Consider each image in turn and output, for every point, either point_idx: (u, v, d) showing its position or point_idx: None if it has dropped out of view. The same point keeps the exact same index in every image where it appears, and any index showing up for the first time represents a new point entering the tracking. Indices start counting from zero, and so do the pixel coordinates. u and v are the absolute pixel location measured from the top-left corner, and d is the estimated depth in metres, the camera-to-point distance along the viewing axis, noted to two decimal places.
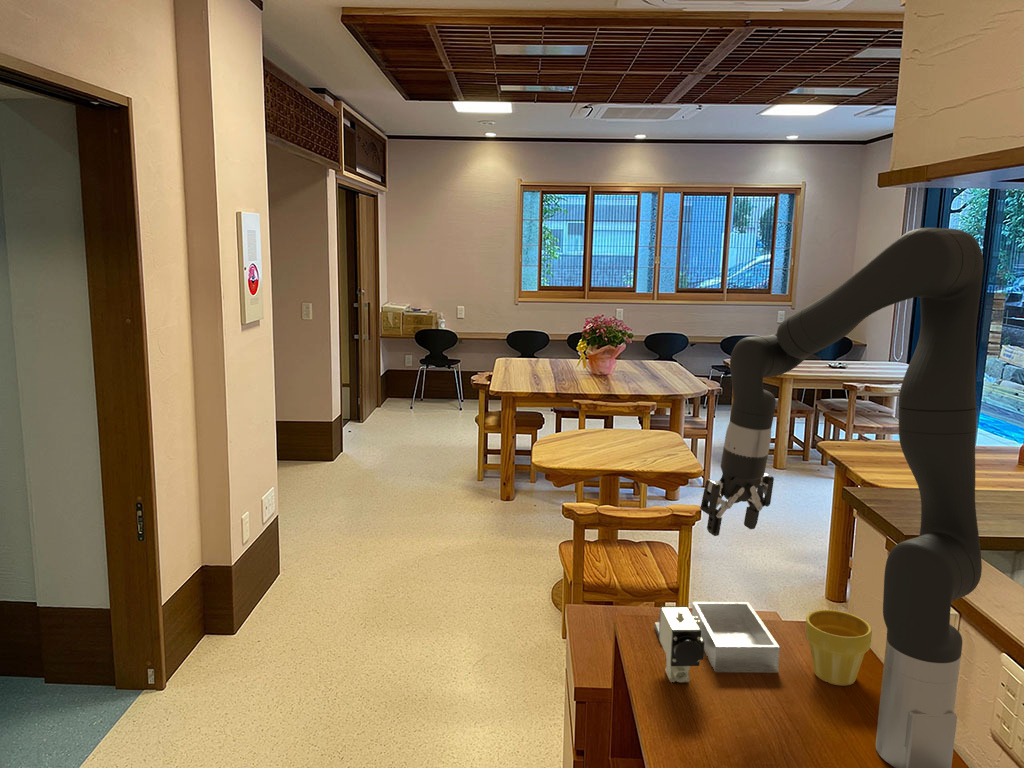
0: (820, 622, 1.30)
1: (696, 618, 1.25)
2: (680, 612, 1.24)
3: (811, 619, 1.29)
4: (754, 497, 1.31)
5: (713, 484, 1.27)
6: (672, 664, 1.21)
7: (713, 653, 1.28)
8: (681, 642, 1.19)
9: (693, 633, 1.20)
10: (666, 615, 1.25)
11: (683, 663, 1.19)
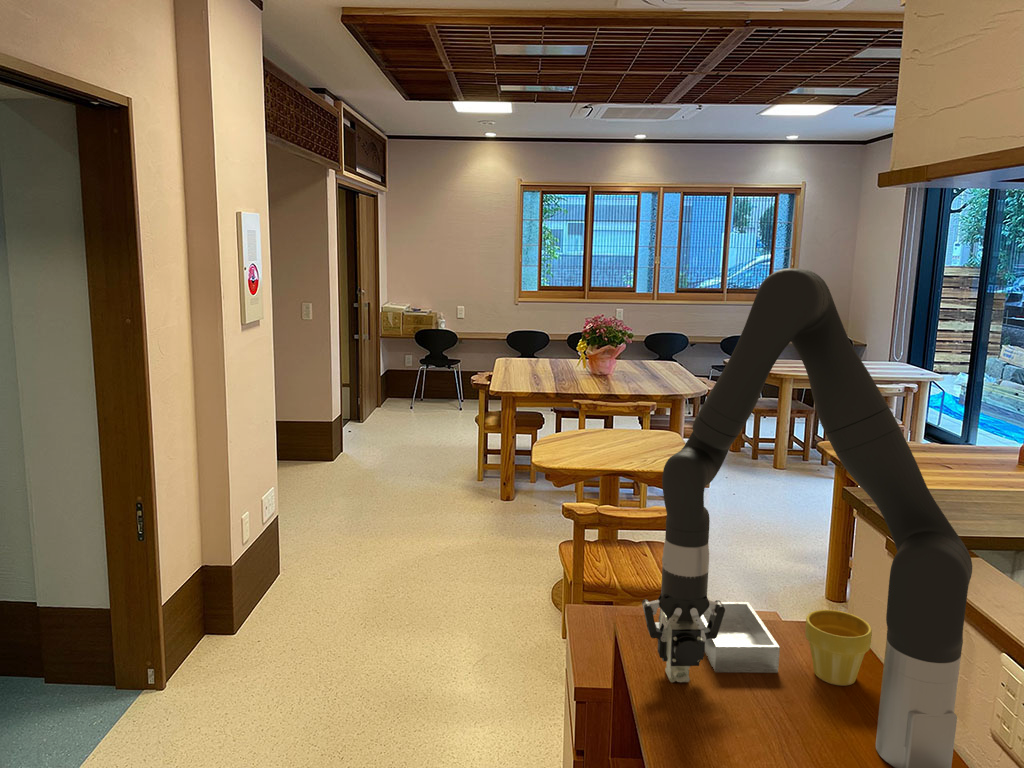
0: (820, 622, 1.30)
1: None
2: None
3: (811, 619, 1.29)
4: (695, 622, 1.22)
5: (645, 606, 1.23)
6: (672, 664, 1.21)
7: (713, 653, 1.28)
8: (681, 642, 1.19)
9: (693, 633, 1.20)
10: None
11: (683, 663, 1.19)
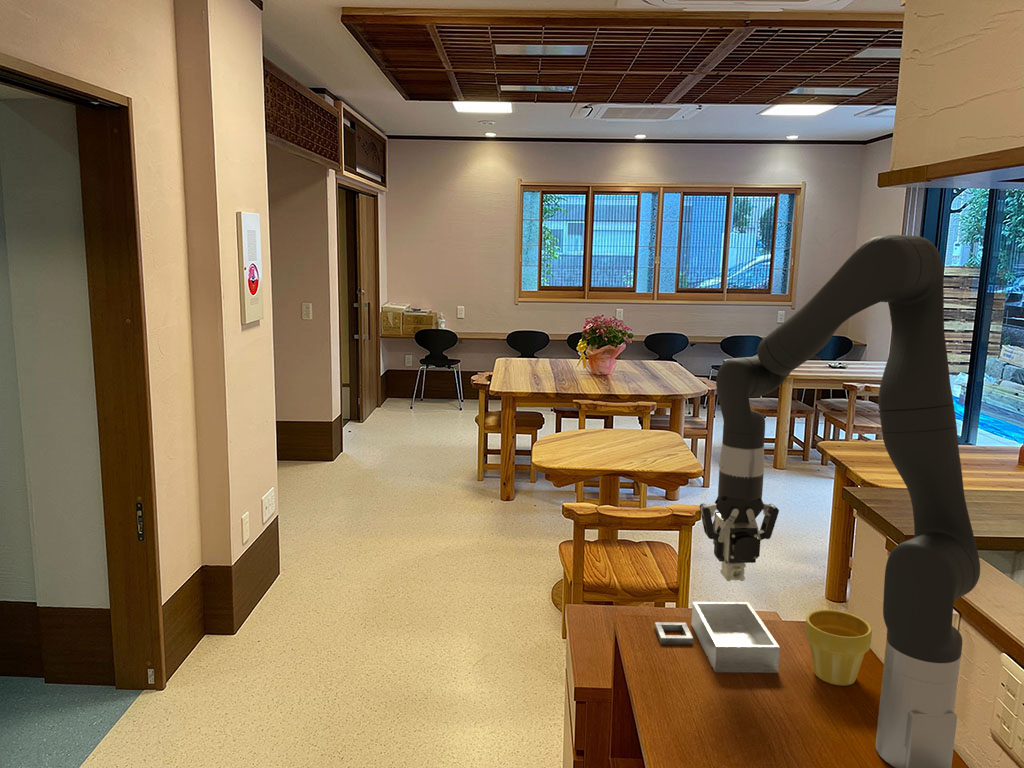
0: (820, 622, 1.30)
1: None
2: None
3: (811, 619, 1.28)
4: (751, 523, 1.30)
5: (703, 508, 1.30)
6: (730, 561, 1.28)
7: (713, 653, 1.28)
8: (739, 538, 1.26)
9: (750, 531, 1.27)
10: (722, 518, 1.32)
11: (741, 559, 1.26)
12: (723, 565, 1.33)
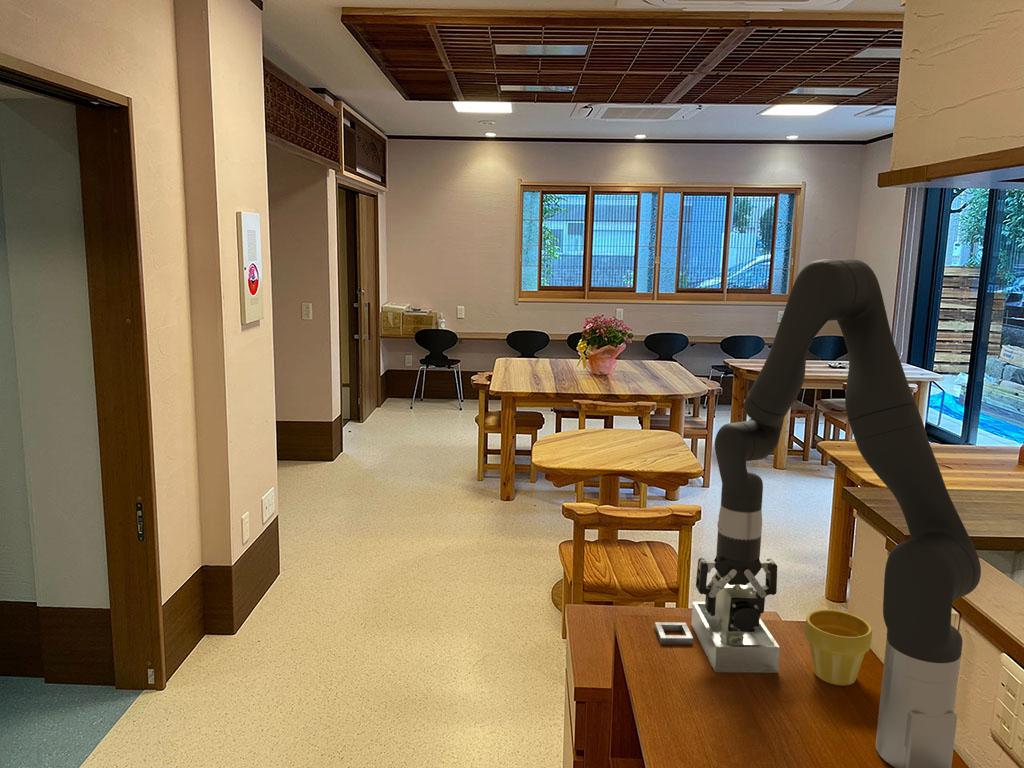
0: (820, 622, 1.30)
1: (751, 589, 1.34)
2: None
3: (811, 619, 1.28)
4: (752, 582, 1.32)
5: (702, 563, 1.32)
6: (730, 629, 1.30)
7: (713, 653, 1.28)
8: (740, 609, 1.28)
9: (751, 601, 1.29)
10: None
11: (741, 628, 1.29)
12: (723, 630, 1.36)
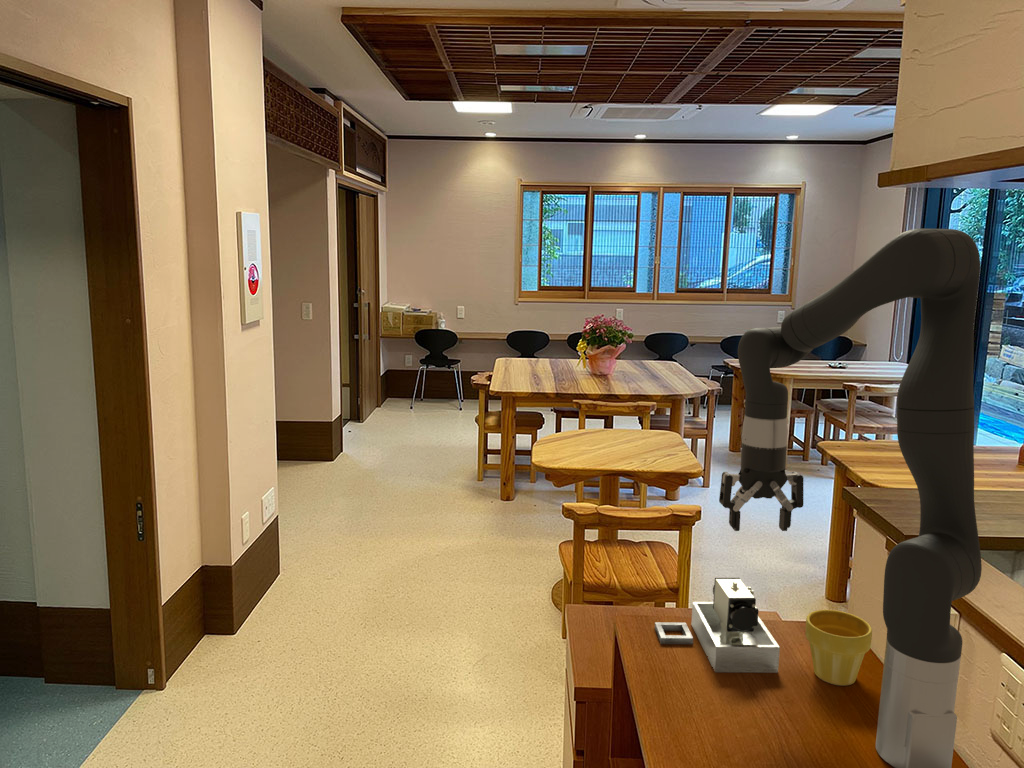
0: (820, 622, 1.30)
1: (749, 588, 1.34)
2: (735, 582, 1.33)
3: (811, 619, 1.28)
4: (778, 494, 1.28)
5: (726, 475, 1.29)
6: (728, 630, 1.30)
7: (713, 653, 1.28)
8: (738, 609, 1.28)
9: (748, 601, 1.30)
10: (721, 585, 1.35)
11: (739, 628, 1.29)
12: (722, 631, 1.36)
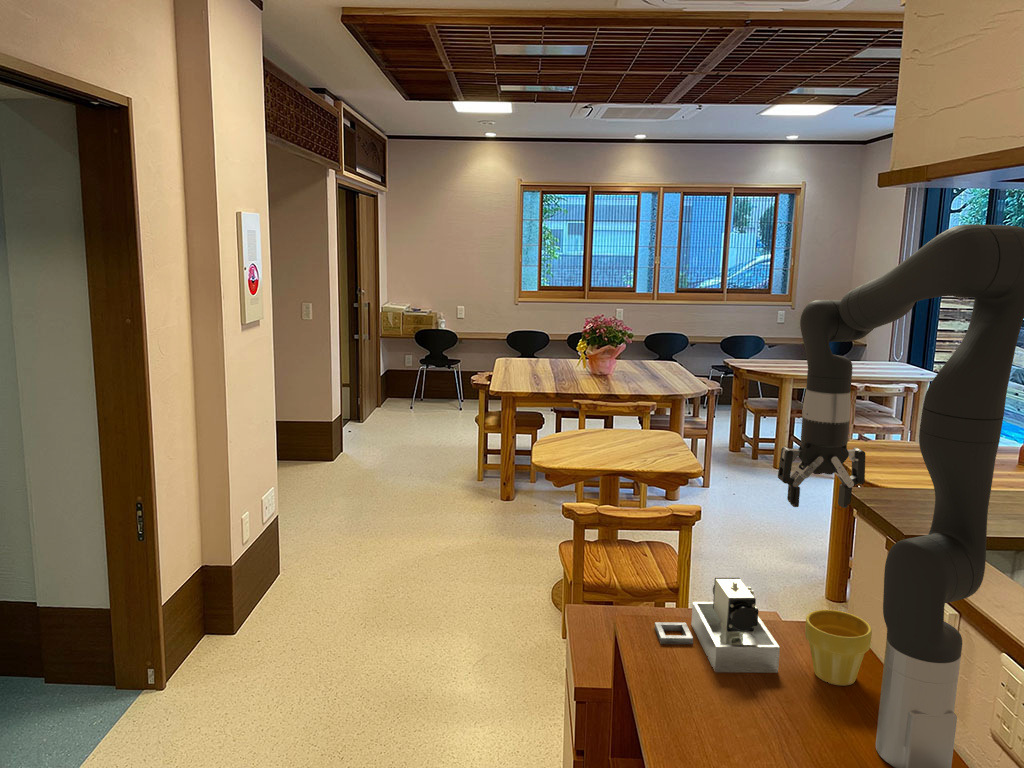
0: (820, 622, 1.30)
1: (749, 588, 1.34)
2: (735, 582, 1.33)
3: (811, 619, 1.28)
4: (839, 470, 1.26)
5: (786, 450, 1.27)
6: (728, 630, 1.30)
7: (713, 653, 1.28)
8: (738, 609, 1.28)
9: (748, 601, 1.30)
10: (721, 585, 1.35)
11: (739, 628, 1.29)
12: (722, 631, 1.36)
